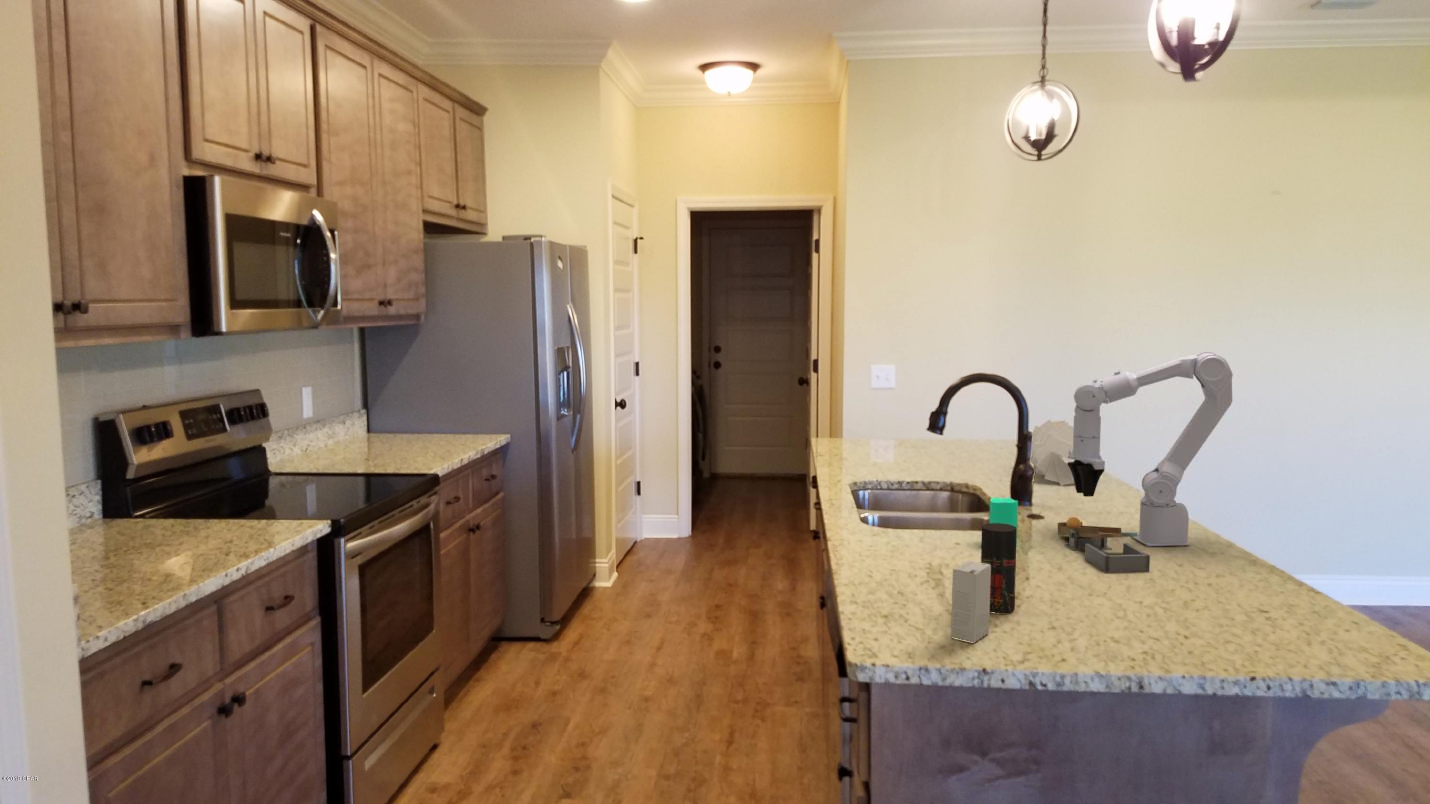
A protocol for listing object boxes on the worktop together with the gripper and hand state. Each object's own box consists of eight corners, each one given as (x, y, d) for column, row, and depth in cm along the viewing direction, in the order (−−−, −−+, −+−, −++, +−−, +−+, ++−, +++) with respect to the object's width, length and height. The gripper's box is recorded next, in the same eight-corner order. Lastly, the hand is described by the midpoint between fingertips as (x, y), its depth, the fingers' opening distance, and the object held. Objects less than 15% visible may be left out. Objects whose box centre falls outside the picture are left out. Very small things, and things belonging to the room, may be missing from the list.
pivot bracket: (1102, 544, 202) (1103, 527, 202) (1111, 549, 198) (1112, 532, 197) (1064, 545, 202) (1065, 528, 201) (1073, 550, 198) (1073, 533, 197)
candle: (1018, 549, 199) (1019, 496, 197) (990, 548, 200) (991, 495, 199) (1015, 542, 205) (1016, 490, 203) (987, 541, 206) (988, 490, 204)
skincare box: (965, 628, 153) (966, 559, 151) (990, 634, 150) (992, 563, 149) (949, 639, 148) (950, 567, 147) (975, 645, 145) (976, 572, 144)
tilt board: (1100, 533, 210) (1099, 521, 210) (1143, 536, 190) (1142, 523, 190) (1058, 534, 209) (1057, 522, 210) (1096, 538, 189) (1095, 524, 190)
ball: (1077, 529, 209) (1077, 516, 209) (1083, 532, 206) (1083, 518, 205) (1064, 530, 209) (1063, 516, 209) (1069, 532, 205) (1069, 518, 205)
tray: (1126, 557, 191) (1127, 542, 191) (1149, 571, 182) (1149, 555, 182) (1084, 558, 191) (1085, 543, 191) (1105, 572, 182) (1105, 556, 181)
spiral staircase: (1063, 484, 284) (1085, 498, 259) (1011, 460, 285) (1028, 471, 261) (1090, 432, 282) (1115, 441, 257) (1037, 408, 283) (1057, 415, 258)
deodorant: (976, 602, 165) (978, 523, 164) (1009, 602, 165) (1011, 522, 163) (985, 614, 159) (986, 531, 158) (1019, 614, 159) (1021, 531, 157)
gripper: (1056, 431, 213) (1055, 488, 215) (1083, 441, 199) (1081, 501, 200) (1086, 431, 213) (1084, 487, 215) (1114, 440, 199) (1112, 501, 201)
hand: (1084, 494), depth 208 cm, fingers open, 3 cm apart
